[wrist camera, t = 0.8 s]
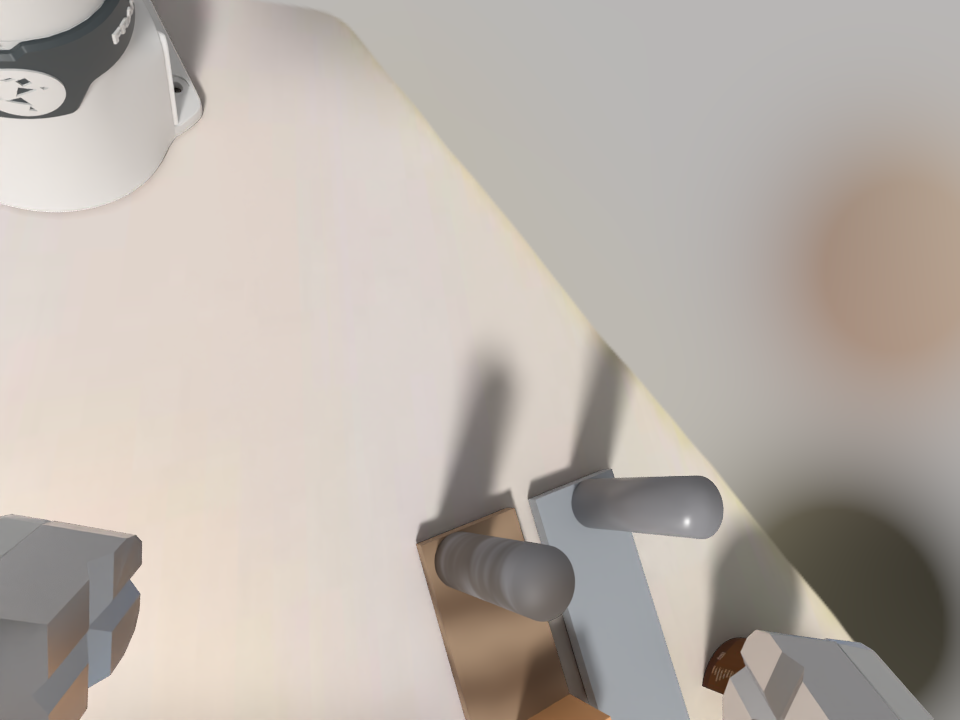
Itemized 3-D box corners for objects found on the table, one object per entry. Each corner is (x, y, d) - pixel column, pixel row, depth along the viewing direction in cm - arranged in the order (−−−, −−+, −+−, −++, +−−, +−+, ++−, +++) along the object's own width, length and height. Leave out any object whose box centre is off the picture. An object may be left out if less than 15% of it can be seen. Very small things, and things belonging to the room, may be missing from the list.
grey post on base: (528, 499, 48) (634, 502, 36) (603, 469, 51) (721, 463, 40) (609, 772, 46) (748, 869, 34) (681, 721, 50) (829, 792, 38)
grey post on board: (416, 544, 43) (495, 564, 31) (507, 507, 47) (609, 513, 35) (502, 849, 41) (620, 990, 30) (590, 786, 45) (726, 890, 33)
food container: (794, 640, 57) (903, 668, 48) (787, 710, 55) (900, 752, 46) (700, 608, 53) (800, 632, 44) (689, 682, 51) (792, 723, 42)
